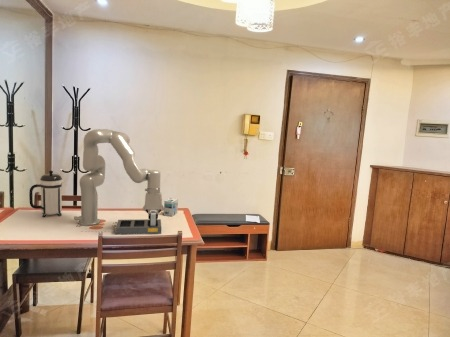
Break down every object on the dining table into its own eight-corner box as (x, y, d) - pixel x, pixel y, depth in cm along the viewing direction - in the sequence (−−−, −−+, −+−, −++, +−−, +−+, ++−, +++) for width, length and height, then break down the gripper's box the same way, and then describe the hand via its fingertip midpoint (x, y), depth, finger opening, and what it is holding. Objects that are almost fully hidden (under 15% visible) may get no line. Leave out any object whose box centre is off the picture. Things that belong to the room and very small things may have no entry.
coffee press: (51, 210, 229) (50, 167, 225) (69, 213, 224) (68, 170, 220) (29, 216, 213) (27, 170, 209) (47, 220, 208) (46, 173, 204)
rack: (115, 234, 189) (115, 228, 189) (118, 225, 205) (118, 219, 204) (161, 234, 195) (161, 227, 194) (160, 225, 211) (160, 219, 210)
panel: (150, 225, 196) (150, 214, 195) (150, 221, 206) (150, 210, 205) (155, 225, 197) (155, 214, 196) (155, 220, 206) (155, 210, 206)
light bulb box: (172, 216, 231) (173, 201, 229) (163, 215, 232) (164, 200, 231) (177, 213, 241) (178, 198, 240) (169, 212, 243) (169, 197, 241)
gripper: (139, 191, 193) (139, 222, 196) (167, 192, 197) (166, 221, 199) (140, 189, 200) (139, 218, 203) (167, 189, 204) (166, 218, 207)
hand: (153, 219), depth 201 cm, fingers closed on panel, 3 cm apart
